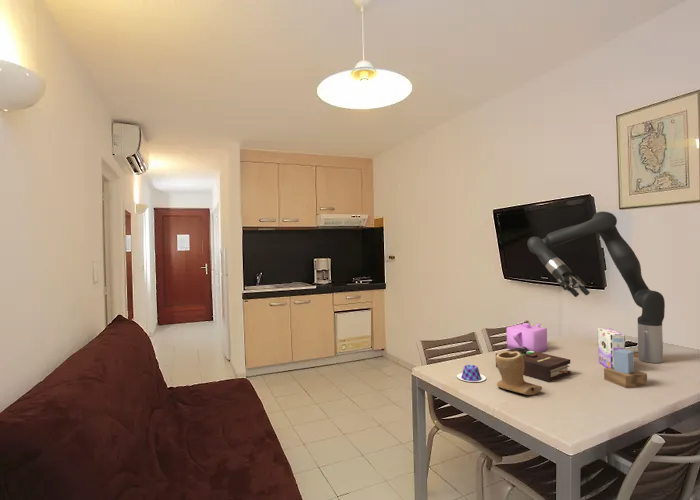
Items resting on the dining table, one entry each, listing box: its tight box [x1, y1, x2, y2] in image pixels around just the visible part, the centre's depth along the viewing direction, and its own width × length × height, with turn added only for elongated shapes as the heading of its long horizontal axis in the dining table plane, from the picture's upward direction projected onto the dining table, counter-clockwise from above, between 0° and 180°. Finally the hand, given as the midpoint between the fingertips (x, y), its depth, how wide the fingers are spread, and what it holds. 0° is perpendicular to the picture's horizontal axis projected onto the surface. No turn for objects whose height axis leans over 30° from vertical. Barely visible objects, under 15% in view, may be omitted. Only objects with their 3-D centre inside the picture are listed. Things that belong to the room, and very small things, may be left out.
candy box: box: [597, 327, 626, 368], centre depth 176 cm, size 14×6×16 cm, turn 168°
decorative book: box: [495, 347, 572, 383], centre depth 175 cm, size 19×8×30 cm
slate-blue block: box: [614, 349, 635, 374], centre depth 157 cm, size 5×5×8 cm
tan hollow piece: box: [495, 350, 543, 396], centre depth 152 cm, size 15×12×15 cm
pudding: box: [456, 364, 487, 383], centre depth 168 cm, size 12×12×5 cm
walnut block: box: [603, 367, 648, 389], centre depth 157 cm, size 10×10×5 cm
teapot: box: [506, 322, 548, 353], centre depth 209 cm, size 15×25×14 cm, turn 125°
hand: (582, 295), depth 178 cm, fingers open, 8 cm apart
